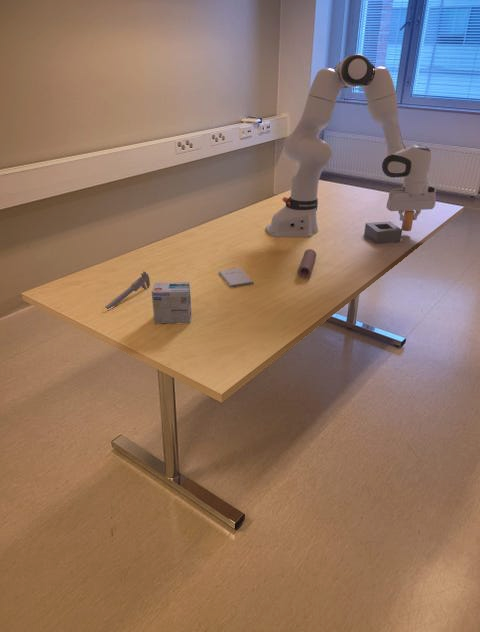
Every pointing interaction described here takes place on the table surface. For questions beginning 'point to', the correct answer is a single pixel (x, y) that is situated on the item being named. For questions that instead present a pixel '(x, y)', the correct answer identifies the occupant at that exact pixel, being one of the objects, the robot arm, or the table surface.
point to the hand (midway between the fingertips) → (407, 220)
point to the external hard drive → (235, 277)
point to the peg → (408, 220)
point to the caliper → (131, 289)
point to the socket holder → (383, 232)
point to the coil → (307, 263)
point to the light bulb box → (171, 302)
